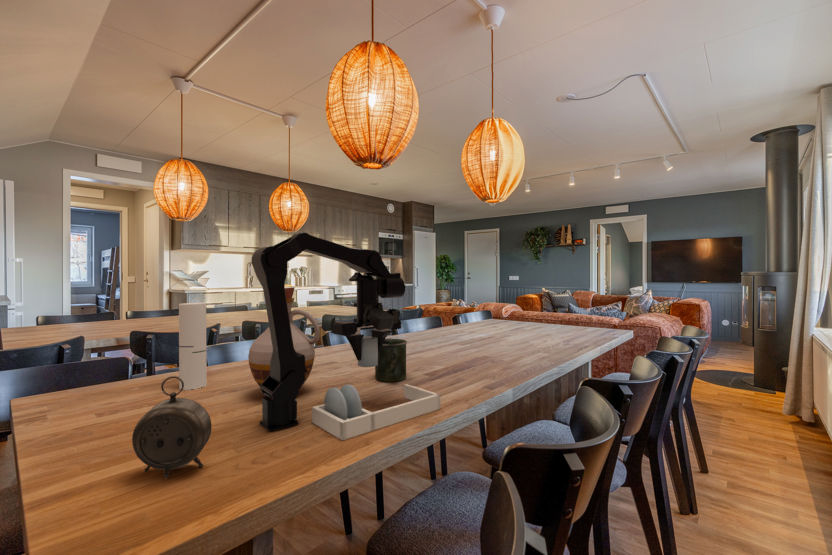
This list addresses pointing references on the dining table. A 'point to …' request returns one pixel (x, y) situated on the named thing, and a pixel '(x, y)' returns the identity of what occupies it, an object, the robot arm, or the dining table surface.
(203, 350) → the cylindrical container
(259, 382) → the jug
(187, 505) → the dining table surface
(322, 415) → the dish rack
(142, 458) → the alarm clock
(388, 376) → the mug
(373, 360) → the grey rectangular slab
